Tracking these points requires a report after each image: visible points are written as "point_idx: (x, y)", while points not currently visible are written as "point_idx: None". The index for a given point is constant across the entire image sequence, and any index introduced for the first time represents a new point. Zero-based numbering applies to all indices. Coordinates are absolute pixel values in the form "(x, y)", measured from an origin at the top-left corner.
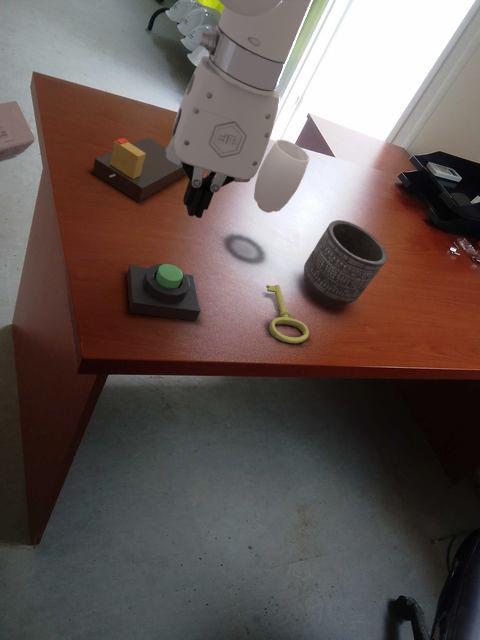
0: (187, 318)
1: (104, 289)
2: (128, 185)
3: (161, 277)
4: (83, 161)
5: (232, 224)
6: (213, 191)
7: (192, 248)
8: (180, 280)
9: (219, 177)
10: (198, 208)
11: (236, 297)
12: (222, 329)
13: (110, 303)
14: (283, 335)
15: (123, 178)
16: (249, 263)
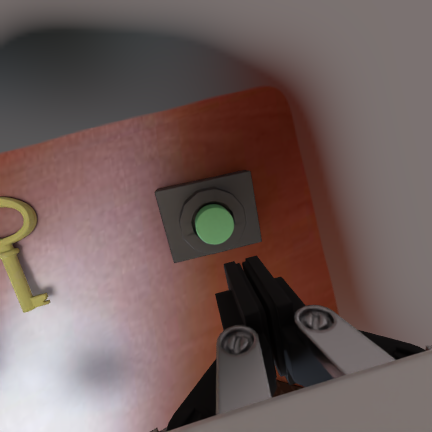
0: (170, 186)
1: (278, 199)
2: (278, 391)
3: (226, 210)
4: None
5: (124, 413)
6: (234, 328)
7: (178, 330)
8: (197, 217)
9: (250, 391)
10: (244, 275)
11: (100, 263)
12: (115, 187)
13: (268, 177)
14: (4, 204)
15: None
16: (87, 346)
